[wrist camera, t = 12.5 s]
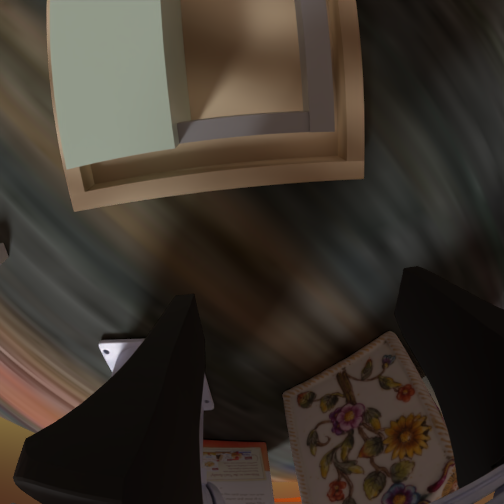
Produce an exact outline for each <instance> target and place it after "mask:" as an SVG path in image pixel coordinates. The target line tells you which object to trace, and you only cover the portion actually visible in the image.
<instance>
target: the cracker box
mask: <svg viewBox="0 0 504 504" xmlns="http://www.w3.org/2000/svg"><path fill="white" fill-rule="evenodd" d="M201 468H205V469H207V482H211V483H213V484H214V485H215V486H216V487H217V488H218V489H219V491H220V492H221V494H222V497H223V498H224V501H225V503H226V504H274V497H273V489H272V482H271V475H270V468H269V461H268V453H267V447H266V443H265V442H239V441H218V440H204V439H203V461H202V465H201Z"/></svg>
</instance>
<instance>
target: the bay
mask: <svg viewBox="0 0 504 504" xmlns="http://www.w3.org/2000/svg"><path fill="white" fill-rule="evenodd" d="M8 257H9V256H8V254H7V251H6V248H5V246H4V243H0V265H1V264H2V263H3V262H4V261H5V260H6V259H7V258H8Z"/></svg>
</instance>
